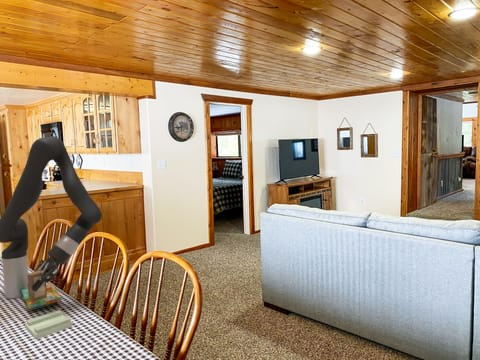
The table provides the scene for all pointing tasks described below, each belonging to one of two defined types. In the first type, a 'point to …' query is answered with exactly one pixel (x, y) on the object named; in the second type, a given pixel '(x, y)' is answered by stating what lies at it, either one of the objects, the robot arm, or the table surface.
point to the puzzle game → (50, 300)
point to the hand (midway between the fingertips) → (31, 288)
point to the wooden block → (41, 292)
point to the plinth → (48, 324)
